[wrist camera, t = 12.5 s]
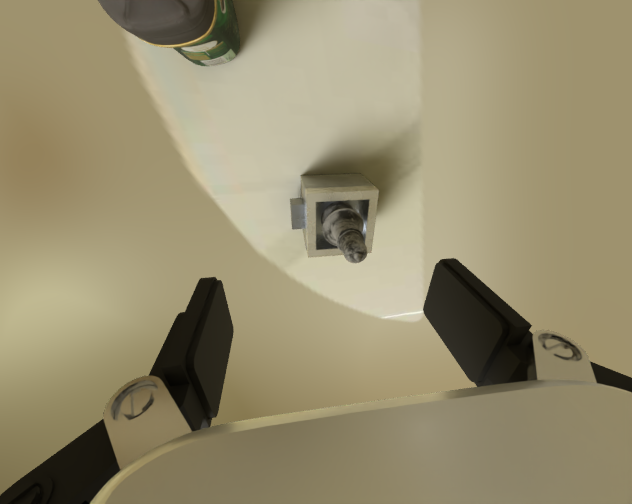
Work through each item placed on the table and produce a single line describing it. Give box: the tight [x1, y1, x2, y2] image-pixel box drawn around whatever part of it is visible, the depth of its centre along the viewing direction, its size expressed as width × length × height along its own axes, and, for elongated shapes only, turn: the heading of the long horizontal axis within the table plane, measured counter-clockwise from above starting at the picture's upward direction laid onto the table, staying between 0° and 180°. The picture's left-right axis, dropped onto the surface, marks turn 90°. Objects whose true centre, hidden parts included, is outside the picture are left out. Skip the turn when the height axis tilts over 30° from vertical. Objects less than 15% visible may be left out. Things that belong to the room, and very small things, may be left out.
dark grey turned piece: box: [321, 201, 367, 263], centre depth 33 cm, size 6×6×12 cm
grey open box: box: [290, 173, 379, 257], centre depth 41 cm, size 13×12×10 cm
